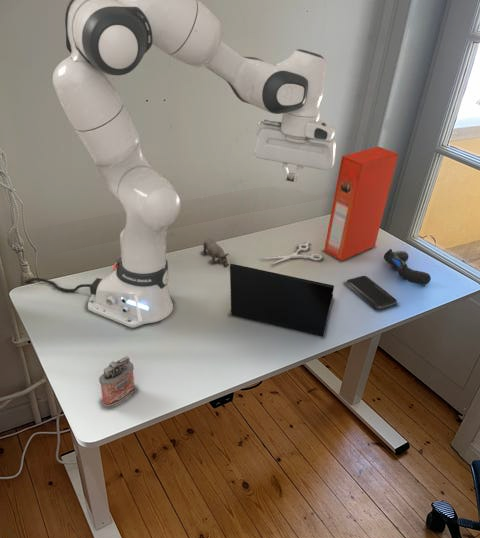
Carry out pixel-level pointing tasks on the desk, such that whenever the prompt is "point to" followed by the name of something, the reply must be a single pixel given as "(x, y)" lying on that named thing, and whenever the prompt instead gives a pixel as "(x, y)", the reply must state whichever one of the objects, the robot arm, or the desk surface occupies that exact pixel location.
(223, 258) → the rhino figurine
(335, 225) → the file binder
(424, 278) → the gaming controller
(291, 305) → the laptop screen
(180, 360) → the desk surface
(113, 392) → the lighter
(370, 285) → the phone
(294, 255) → the scissors
